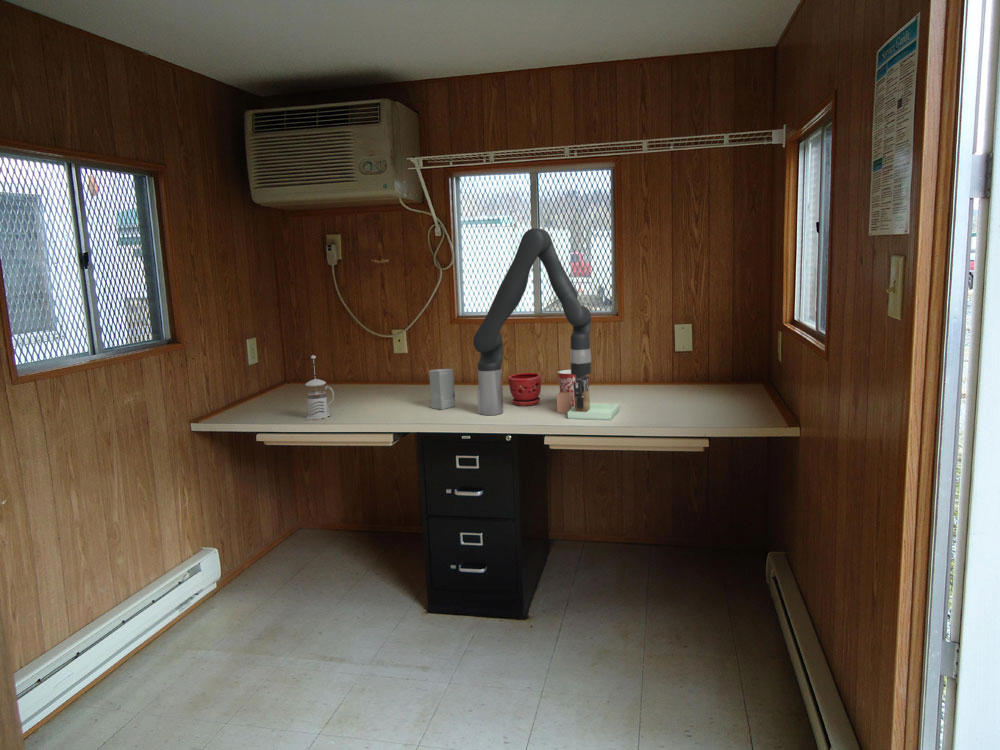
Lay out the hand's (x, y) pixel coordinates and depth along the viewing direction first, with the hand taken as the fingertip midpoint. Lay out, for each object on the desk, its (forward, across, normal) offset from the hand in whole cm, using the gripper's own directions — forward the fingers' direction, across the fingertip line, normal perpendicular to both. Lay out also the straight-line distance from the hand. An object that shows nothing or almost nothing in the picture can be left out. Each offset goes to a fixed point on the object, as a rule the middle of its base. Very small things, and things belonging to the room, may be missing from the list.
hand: (582, 406), depth 270 cm
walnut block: (+2, 0, 0) cm, 2 cm away
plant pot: (+4, -19, -28) cm, 35 cm away
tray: (+4, -4, +4) cm, 7 cm away
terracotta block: (+4, -8, -9) cm, 13 cm away
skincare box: (+4, -8, -60) cm, 61 cm away
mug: (+4, -21, -8) cm, 23 cm away
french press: (+4, +16, -104) cm, 105 cm away
